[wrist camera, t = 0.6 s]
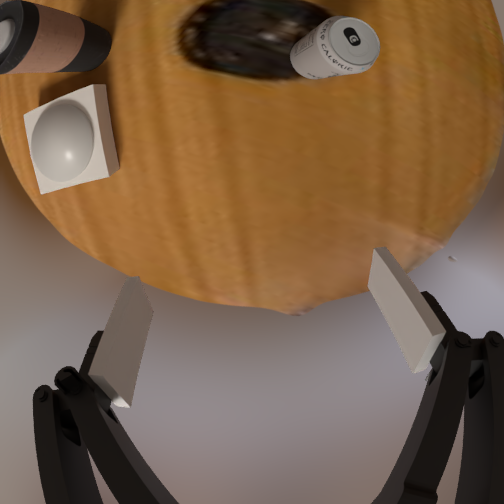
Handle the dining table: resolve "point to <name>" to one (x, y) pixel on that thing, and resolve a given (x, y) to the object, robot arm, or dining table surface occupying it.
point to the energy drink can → (336, 49)
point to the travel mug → (48, 40)
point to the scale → (72, 139)
